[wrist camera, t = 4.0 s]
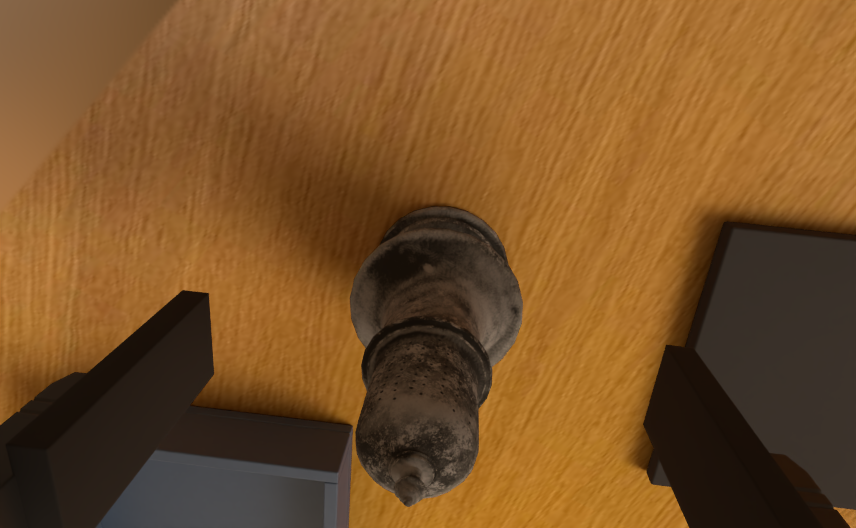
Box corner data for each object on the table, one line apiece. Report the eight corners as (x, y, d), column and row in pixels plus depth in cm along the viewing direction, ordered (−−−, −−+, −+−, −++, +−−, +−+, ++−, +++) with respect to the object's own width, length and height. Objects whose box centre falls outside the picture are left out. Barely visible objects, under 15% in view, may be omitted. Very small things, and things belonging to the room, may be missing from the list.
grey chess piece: (478, 354, 23) (482, 639, 12) (348, 303, 23) (231, 552, 12) (541, 234, 21) (614, 450, 10) (398, 174, 21) (311, 333, 10)
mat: (723, 220, 21) (732, 227, 20) (1060, 256, 20) (1082, 264, 19) (645, 471, 25) (650, 484, 24) (917, 505, 25) (931, 520, 24)
